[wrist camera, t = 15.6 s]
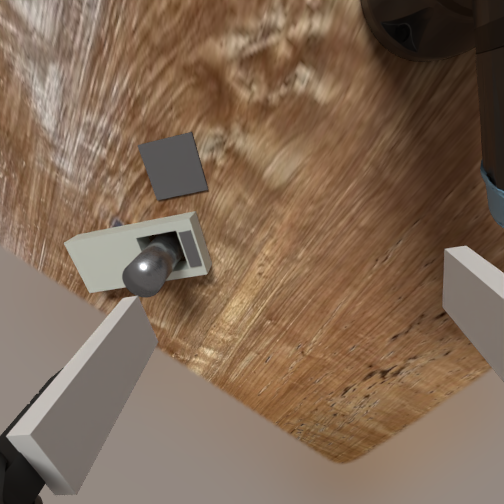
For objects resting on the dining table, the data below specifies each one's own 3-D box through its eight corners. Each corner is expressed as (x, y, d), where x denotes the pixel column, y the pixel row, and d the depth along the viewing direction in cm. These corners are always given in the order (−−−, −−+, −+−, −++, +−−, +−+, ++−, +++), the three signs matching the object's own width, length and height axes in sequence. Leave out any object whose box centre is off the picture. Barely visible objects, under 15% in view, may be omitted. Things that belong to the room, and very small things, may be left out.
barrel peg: (151, 232, 42) (116, 265, 33) (181, 227, 41) (153, 260, 32) (161, 260, 44) (130, 299, 35) (190, 256, 43) (166, 294, 34)
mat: (138, 145, 37) (137, 145, 37) (191, 131, 36) (191, 131, 36) (158, 199, 40) (157, 200, 40) (208, 189, 39) (207, 189, 38)
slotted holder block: (77, 234, 43) (62, 243, 40) (195, 211, 40) (188, 219, 37) (100, 282, 46) (88, 293, 43) (212, 264, 43) (207, 274, 40)
